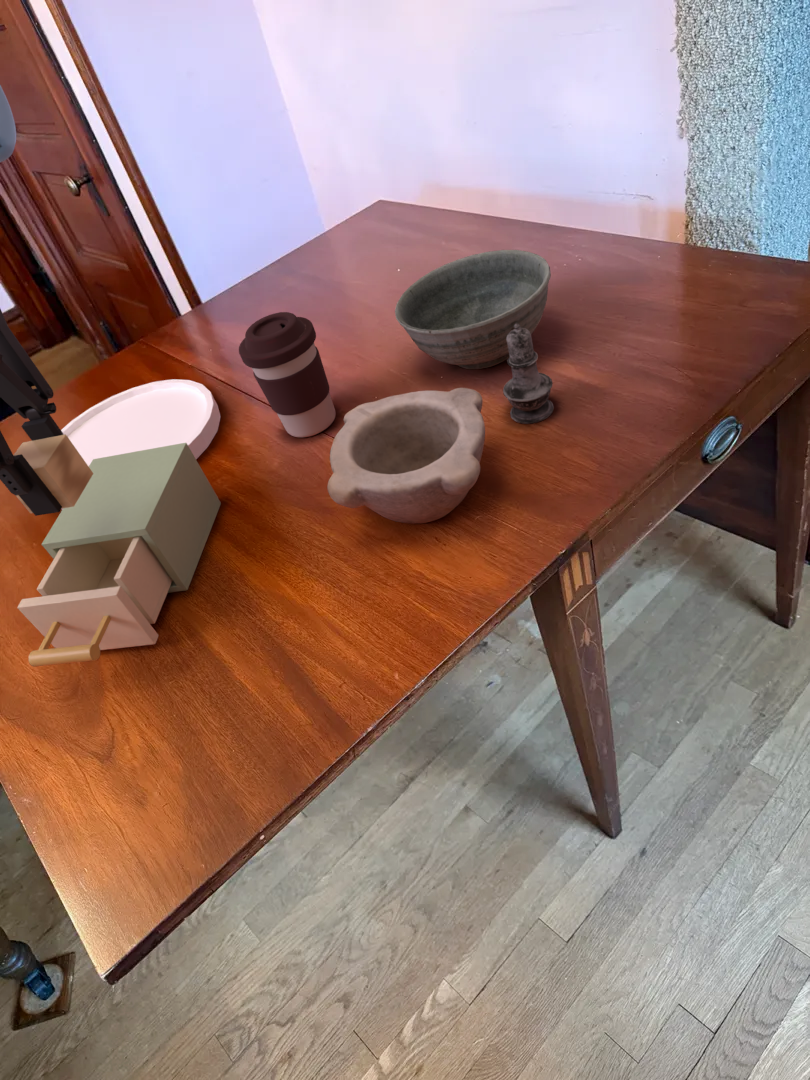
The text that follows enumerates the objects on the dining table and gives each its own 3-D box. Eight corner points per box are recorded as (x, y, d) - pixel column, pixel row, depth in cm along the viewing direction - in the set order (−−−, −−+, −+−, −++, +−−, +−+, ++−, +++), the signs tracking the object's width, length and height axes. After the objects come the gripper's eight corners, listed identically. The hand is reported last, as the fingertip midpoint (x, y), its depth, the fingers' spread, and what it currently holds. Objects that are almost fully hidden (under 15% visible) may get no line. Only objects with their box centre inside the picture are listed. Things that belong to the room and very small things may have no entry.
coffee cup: (267, 447, 101) (220, 351, 91) (291, 404, 108) (249, 310, 98) (334, 442, 98) (292, 341, 88) (354, 398, 104) (318, 300, 94)
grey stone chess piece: (555, 393, 93) (542, 305, 85) (556, 421, 88) (543, 331, 80) (508, 400, 94) (491, 314, 86) (507, 428, 90) (489, 341, 82)
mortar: (494, 543, 77) (477, 475, 71) (340, 556, 81) (312, 494, 75) (501, 443, 88) (487, 377, 82) (367, 459, 93) (344, 398, 87)
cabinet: (187, 590, 84) (144, 528, 78) (89, 602, 87) (41, 544, 81) (221, 503, 95) (186, 442, 88) (133, 517, 98) (93, 459, 91)
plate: (242, 446, 103) (234, 432, 101) (50, 541, 99) (39, 528, 97) (197, 371, 124) (190, 358, 122) (37, 448, 119) (28, 435, 117)
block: (74, 506, 72) (43, 467, 68) (30, 513, 73) (-2, 475, 69) (93, 473, 75) (65, 434, 72) (51, 480, 76) (22, 442, 73)
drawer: (138, 686, 74) (96, 637, 69) (40, 695, 77) (-8, 649, 72) (192, 551, 87) (160, 502, 82) (106, 563, 90) (70, 516, 85)
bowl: (553, 386, 94) (542, 315, 87) (397, 402, 101) (376, 337, 94) (565, 304, 107) (556, 236, 101) (427, 323, 114) (411, 261, 108)
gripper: (-140, 318, 51) (55, 552, 67) (-13, 213, 64) (125, 430, 79) (-223, 339, 53) (-15, 562, 68) (-84, 233, 66) (65, 442, 81)
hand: (60, 491), depth 74 cm, fingers closed on block, 5 cm apart
